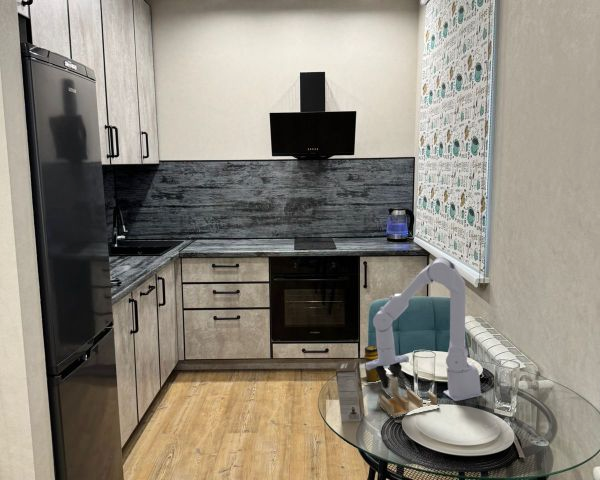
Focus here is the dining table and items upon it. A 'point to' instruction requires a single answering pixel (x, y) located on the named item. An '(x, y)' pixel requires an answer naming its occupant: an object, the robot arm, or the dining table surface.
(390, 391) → the panel
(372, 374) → the condiment
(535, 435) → the dining table surface
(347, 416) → the coffee box
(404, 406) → the rack
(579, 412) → the dining table surface
